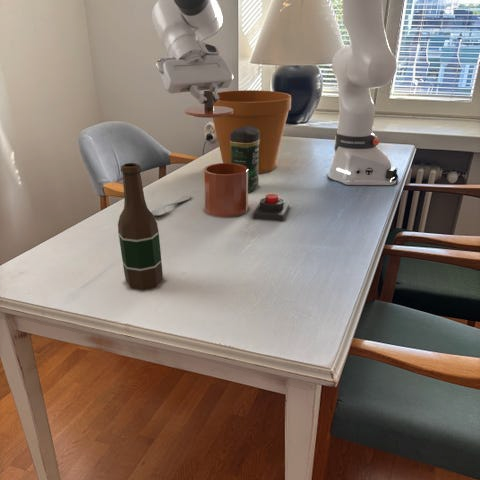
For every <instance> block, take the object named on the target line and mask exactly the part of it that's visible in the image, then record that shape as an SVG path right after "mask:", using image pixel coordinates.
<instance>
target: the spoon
mask: <svg viewBox="0 0 480 480" xmlns="http://www.w3.org/2000/svg"><path fill="white" fill-rule="evenodd" d="M190 199H191V197H190V196H183V197H181V198H180V199H177V200H175V201H173V202H170V203H168V204H164V205H161V206H159V207H157V208H155V209H153V210H152V211H150V212H151V213H152V214H153V215H154V217H160V216H163V215H165V214H166V213H167V210H166V208H167V207H169V206H172V205H176V204H180V203H184V202H186V201H189V200H190Z"/></svg>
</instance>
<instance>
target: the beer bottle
mask: <svg viewBox="0 0 480 480" xmlns="http://www.w3.org/2000/svg"><path fill="white" fill-rule="evenodd" d="M120 172H121V173H122V184H123V185H122V186H123V198H124V201H123V205H124V206H123V209H122V211H121V213H120V214H119V218H118V221H117V231H118V239H119V247H120V253H121V260H122V267H123V274H124V278H125V282H126V283H127V285H128V286H129V288H130V289H134V290H141V291H145V290H150V289H154V288H157V287H158V286H159V285H160V284H161V283H163V280H164V274H163V262H162V253H161V251H162V250H161V242H160V233H159V226H158V222H157V219H156V218H155V216H154V215H153V214H152V213H151V211H150V209H149V208H148V206H147V202H146V198H145V193H144V186H143V181H142V175H141V172H142V167H141V165H140V164H139V163H135V162H128V163H124V164H122V165H120Z"/></svg>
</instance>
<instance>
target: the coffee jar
mask: <svg viewBox="0 0 480 480" xmlns="http://www.w3.org/2000/svg"><path fill="white" fill-rule="evenodd" d="M259 142H260V131H259V130H258V129H257V127H252V126H244V127H242V128H239V129H236V130H234V131H232V132H231V135H230V144H231V163H235V164H241V165H244V166H246V167H247V168H248V193H250V192H252V191H254V190H256V189H257V188H258V187H259V186H260V185H259V184H260V182H259V180H260V177H259V174H260V173H258V151H259Z"/></svg>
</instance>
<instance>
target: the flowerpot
mask: <svg viewBox="0 0 480 480" xmlns="http://www.w3.org/2000/svg"><path fill="white" fill-rule="evenodd" d="M217 94H218V96H219V101H218V102H214V106H223V107H229V108H232V109H233V110H234V112H233V113H232V114H229V115H225V116H222V117H215V118H212V121H213V125H214V130H215V133H216V138H217V143H218V147H219V151H220V155H221V156H220V157H221V160H222V163H231V144H230V135H231V132H232V131H234V130H236V129H239V128H242V127H244V126H252V127H257V129H258V130H259V131H260V142H259V151H258V173H259V174H261V173H262V174H264V173H268V172H271V171H273V170H274V169H275V167H276V163H277V159H278V155H279V151H280V146H281V144H282V139H283V135H284V131H285V127H286V122H287V119H288V115H289V111H291V110H292V94H289V93H286V92H283V91H282V92H281V91H272V90H258V89H257V90H255V89H254V90H253V89H247V90H227V91H219V92H218V91H217Z"/></svg>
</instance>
